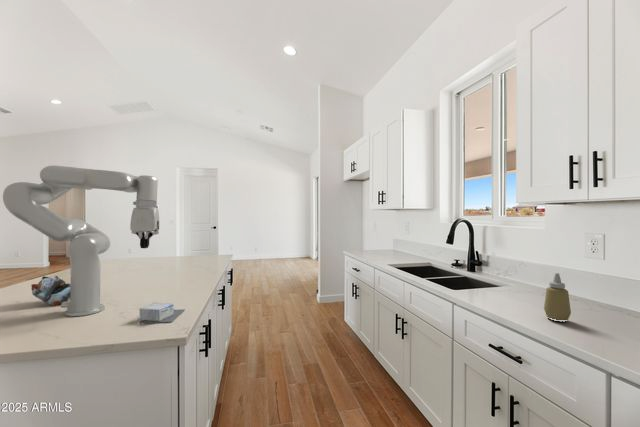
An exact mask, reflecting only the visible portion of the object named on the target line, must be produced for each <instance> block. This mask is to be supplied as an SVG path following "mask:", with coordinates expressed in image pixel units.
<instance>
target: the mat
mask: <svg viewBox="0 0 640 427" xmlns="http://www.w3.org/2000/svg"><path fill="white" fill-rule="evenodd" d="M185 311H186V308H185V309H184V308H183V309H174V312H173V315H171V316H169V317H167V318H165V319H163V320H161V321H148V320H140V322H139V324H140V323H145V324H169V323H171V324H172V323H173V322H174V321H175V320H176V319H177V318H178V317H180V316H181V315H182V314H183V313H184V312H185Z"/></svg>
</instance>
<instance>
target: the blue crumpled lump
mask: <svg viewBox="0 0 640 427" xmlns="http://www.w3.org/2000/svg"><path fill="white" fill-rule="evenodd" d="M30 286H31V294H32V296H34V297H35V298H37V299H39V300H40V301H42V302H43V303H46V304H48V305H50V306H52V307H60V306H61V304H62V302H70V288H71V282H69V283H66V281H64V280H63V279H61V278H59V276H58V275H54V276H52V277H50V276H45V275H44V276H42V277H41V280H40V281H39V282H38V283H33V284H31V285H30Z"/></svg>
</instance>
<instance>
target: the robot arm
mask: <svg viewBox="0 0 640 427" xmlns="http://www.w3.org/2000/svg"><path fill="white" fill-rule="evenodd" d="M39 178H40V179H41V181H42V182H41V183H34V182H27V181H26V182H25V181H24V182H23V181H19V182H13V183H10V184H9V185H7V186H6V187H5V188H4V190H3V193H2V201H3V204H4V207H5V208H6V209H7V211H8V212H9V213H10V214H11V215H12V216H14V217H15V218H17V219H18V220H20V221H22V222H23V223H25V224H27V225H28V226H30V227H31V228H33V229H35V230H37V231H38V232H39V233H41V234H43V235H45V237H48V238H49V239H51V240H53V241H55V242H57V243H59V242H62V243H64V242H69V243H68V246H67V251H68V252H67V253H68V257H69V261H70V262H69V263H70V283H71V288H70V301H68V302H62V304H61V305H60V306H59V307H60V308H61V309H62V308H66V310H65V311H64V315H65V316H67V317H83V316H89V315H93V314H96V313H99V312H102V311H104V310H105V308H106V307H105V305H104V304H102V303H101V260H100V257H99V255H101V254H104V253H105V252H107V251H108V250H109V249H110V247H111V241H110V238H109V236H107V234H105V233H104V232H102V231H101V230H99V229H97V228H96V227H95V226H92V225H91V224H90V223H88V222H86V220H85V221H84V220H82V219H80V218H76V217H64V216H61V215H60V214H57V213H56V212H54V211H53V210H51V208H50V209H49V208H48V207H46V206H44V205H47V204H50V203H52V202H54V201H56V200H57V199H58V198H61V197H62V196H64V195H65V194H67V193H68V192H70V191H71V190H72V189H74V190H76V189H77V190H85V191H86V190H89V191H90V190H91V191H92V189H93V190H94V189H98V190H107V191H108V190H110V191H118V192H124V193H136V198H135V199H136V200H135V201H133V202H132V205H133V206H134V205H135V207H133V209H132V213H131V217H130V226H129V228H130V229H129V230H131V234H132V235H137V237H138V238H139V246H140V249H148V248H149V247H150V239H151V238H152V237H153V236H155V235H160V234H159V233H160V232H159V230H160V213H159V209H158V208H157V206H158V185H159V183H158V182H159V181H158V178H157V177H156V176H153V175H143V174H141V175H138V176H137V175H133V174H129V173H127V172H122V171H117V170H116V171H114V170H105V169H93V168H83V167H74V166H72V167H71V166H64V165H63V166H62V165H47V166H45V167H43V168H41V170H40V171H39Z"/></svg>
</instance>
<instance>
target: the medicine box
mask: <svg viewBox="0 0 640 427" xmlns="http://www.w3.org/2000/svg"><path fill="white" fill-rule="evenodd" d="M174 307H175V305H174V303H169V302H152V303H151V304H148V305H146V306H145V305H144V306H143V307H140V308H139V320H140V321H143V320H148V321H161V320H163V319H165V318H167V317H169V316H171V315H173V312H174V310H175V308H174Z"/></svg>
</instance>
